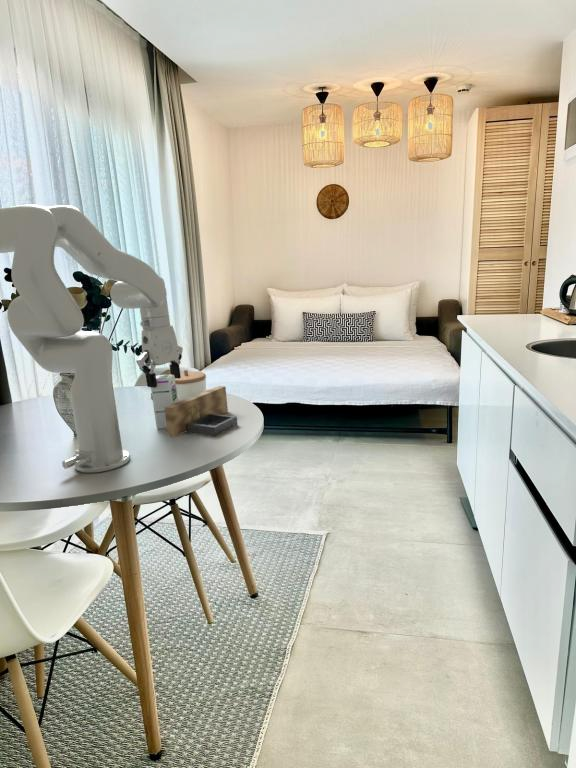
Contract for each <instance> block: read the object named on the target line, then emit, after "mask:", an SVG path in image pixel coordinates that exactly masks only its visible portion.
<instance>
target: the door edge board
mask: <svg viewBox="0 0 576 768" xmlns="http://www.w3.org/2000/svg"><path fill="white" fill-rule="evenodd" d="M164 408H165V415H166V423H167V428H166V431H167V436H168V435H169V436H168V437H174V436H175V437H178V436H179V435H182V434H183V432H184V433H185V431H186V432H187V430H186V423H188V422H191V421H193V420H195V419H197V418H199V417H202V416H204V415H206V414H208V413H210V414H219V415H225V414H226V413H228V412H229V409H228V398H227V388H226V385H223V386H222V385H218V386H215V387H213V388H210V389H208V390H206V391H205V392H202V393H200V394H197V395H195V396H192V397H190V398H187V399H185V400H182V401H180V402H177V403H174V404H172V405H169V406H167V407H164Z"/></svg>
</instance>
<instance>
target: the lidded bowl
mask: <svg viewBox="0 0 576 768" xmlns="http://www.w3.org/2000/svg"><path fill="white" fill-rule="evenodd" d="M180 375H181V378H179V379H178V378H175V384H176V391H177V398H178V402H180V401H182V400H185V399H187V398H190V397H192V396H195V395H197V394H200V393H202V392H205V391H207V380H206V379H207V374H206V373H205V372H202V371H189V370H188V369H184V370H183V372H180Z"/></svg>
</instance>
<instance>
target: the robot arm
mask: <svg viewBox="0 0 576 768" xmlns="http://www.w3.org/2000/svg"><path fill="white" fill-rule="evenodd" d="M57 247H58V248H60V249H63V250H64V251H65V253H67V254H68V255H69V256H70V257H71V258H72V259H73V260H74V261H76V262H77V264H79V266H81V268H83V269H84V270H85V272H87V273H89V274H91V275H93V276H96V277H99V278H102V279H106V280H107V279H108V280H111V281H116V282H115V283H113V285H112V286H111V288H110V292H109V294H110V295H109V296H110V299H111V301H112V303H113V304H114V305H115V306H117V307H118V308H120V309H125V310H126V309H127V310H128V309H139V313H140V318H141V321H140V324H139V325H140V326H141V327H142V329H141V352H142V354H141V355H139V357H138V358H137V359H136V364H137V366H138V367H139V370H140V371H142V372H143V374H145V380H146V386H147V387H148V388H151V387H153V388H155V387H157V381H156V376H157V375H156V373H155V369H156V367H157V366H163V365H165V364H168V363H170V364H169V370H170V372H171V374H173V375H174V376H175V378H178V379H179V378H181V375H180V373H181V369H180V364H181V359H182V357H183V355H182V354H183V347H182V346H180V345H178V340H177V336H176V332H175V330H174V327H173V325H171V320H170V315H169V314H170V313H169V306H168V305H169V304H168V297H167V294H168V293H167V288H166V284H165V280H164V278H162V277H161V276H159V274H158V273H157V272H156V271H155V270H154V269H153V268H152V267H151V266H150V265H149V264H148V263H146V262H145V261H144V260H142V259H140V258H138V257H136V256H133V255H132V254H130V253H128V252H126V251H124V250H122V249H119V248H117V247H115V246H113V244H112V243H111V242H110V241H109V240H108V239H107V238H106V237H105V236H104V235H103V234H102V232H100V230H98V229H97V227H96V226H95V225H94V224H93V223H92V222H91V221H90V219H89V218H87V216H86V215H85V214H84V213H83V212H82V211H81V210H80V209H79V208H77V207H75V206H73V205H68V204H67V205H66V204H61V205H51V206H42V205H38V204H22V205H21V204H20V205H13V206H7V207H0V254H6V253H13V259H12V264H11V271H10V272H11V280H12V284H13V286H14V288H15V290H16V292H17V293H18V294H19V296H17V297H15V298H14V299H12V300H11V301H10V303H9V305H8V308H7V311H6V312H7V316H6V318H7V322H8V325H9V327H10V330H11V331H12V333H13V335H14V336H15V338H16V339H17V340H18V341H19V342H20V344H21V346H23V347H24V349H25V350H26V351H27V353H28V354H29V355H30V356H31V357H32V359H33V360H34V361H35V362H36V364H38V366H40V368H42V369H43V370H45V371H47V372H49V373H57V374H74V377H73V381H72V383H71V386H70V390H69V391H70V392H69V397H70V404H71V408H72V414H73V420H74V428H75V432H76V437H77V438H76V439H77V444H78V449H75V450H74V452H75V454H74V455H73V457H71V458H70V457H69V458H67V459H65V460H63V461H62V462H61V464H62V467H63V468H64V469H65V470H67V469H69V468H71V467H74V468H75V469H76V471H79V472H81V473H88V474H89V473H92V474H94V473H100V472H107V471H111V470H114V469H117V468H121V467H122V466H123V465H126V464H127V463H128V462H129V461H130V460H131V454H130V452H129V451H128V450H125V449H123V444H122V439H121V437H122V436H121V431H120V430H121V429H120V425H119V423H120V422H119V418H118V411H117V410H118V409H117V404H116V398H115V392H114V391H115V390H114V386H113V385H114V383H113V352H114V351H113V347H112V343H111V341H110V340H109V339H108V338H107V336H105V335H103V334H102V333H100V332H96V331H90V330H89V331H88V330H86V331H85V330H83V331H82V328H83V327H84V323H85V318H84V314H83V313H82V310H81V308H80V306H79V305H78V303H77V301H76V300H75V299H74V296H72V294H71V292H70V290H69V289H68V287H67V286H66V285H65V283H64V281H63V280H62V278H61V277H60V274H59V273H58V271H57V269H56V266H55V250H56V248H57Z"/></svg>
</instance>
